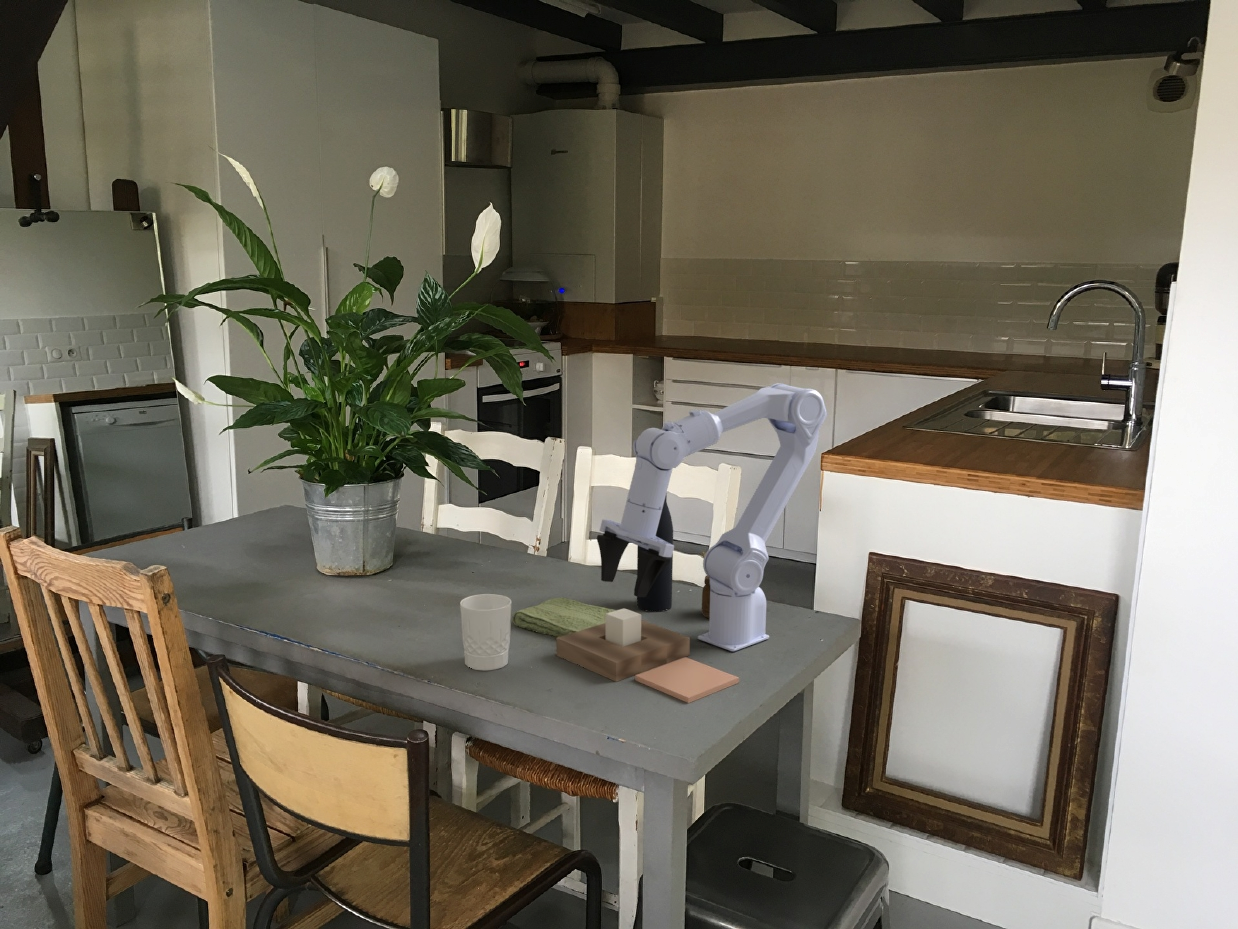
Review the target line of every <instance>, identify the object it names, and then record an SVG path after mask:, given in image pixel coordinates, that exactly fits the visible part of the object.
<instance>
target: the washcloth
mask: <svg viewBox="0 0 1238 929" xmlns="http://www.w3.org/2000/svg"><path fill="white" fill-rule="evenodd" d="M613 611H616V610H615V609H612V608H607V607H604V606H603V607H601V606H597V605H593V604H587V603H583V602H581V601H578V600H577V599H571V598H566V597H561V596H560V597H554V598H549V599H547V600H545V601H542V602H541V603H539V604H537V605H534V606H529V607H526V608H522V609H519V610H517V611H516V612H514V614H513V615H512V617H511V621H512V622H513V624H514V626H516V627H518V626H519V628H522V629H525V628H526V629H525V630H528V631H531V630H533V631H532V632H534V631H537V632H536V633H539V634H542V633H545V634H544V635H546V634H549V635H548V636H551V635H553V637H555V638H558V637H561V636H564V635H568V634H571V633H574V632H577V631H581V630H584V629H587V628H590V627H594V626H597V625H600V624H604V623H606V614H607V613H610V612H613Z"/></svg>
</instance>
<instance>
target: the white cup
mask: <svg viewBox="0 0 1238 929" xmlns="http://www.w3.org/2000/svg"><path fill="white" fill-rule="evenodd" d="M459 606H460V607H459V609H460V621H461V622H460V623H461V635H462V646H463V649H464V651H463V654H464V665H465V666H467V668H469V667H470V668H469V669H471V668H472V670H474V671H475V670H476V671H495V670H499V669H501V668H504V667H505V666H506V665H508V663H509V648H510V646H511V645H510V644H511V642H510V640H511V627H512V626H511V624H512V623H511V622H512V599H511V598H510V597H508V596H506V595H502V594H493V593H483V594H481V593H480V594H474V595H470V596H466V597H464V598H463V599H461V601H460V602H459Z"/></svg>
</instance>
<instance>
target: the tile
mask: <svg viewBox="0 0 1238 929" xmlns="http://www.w3.org/2000/svg"><path fill="white" fill-rule="evenodd" d="M634 680H635V682H638V683H641V684H643V685H645V686H648V687H650V688H652V689H655V690H658V691H659V692H661V693H664V694H666V695H669V696H671V697H674V698H676V699H678V700H679V701H683V702H685V703H687V704H690V703H692V702H695V701H697V700H700V699H702V698H705V697H706V696H710V695H712V694H714V693H717V692H720V691H722V690H724V689H727V688H729V687H732V686H734V685H736V684H737V685H738V684H739V683H740V677H738V676H736V675H734V674H731V673H727V672H725V671H723V670H720V669H717V668H715V667H713V666H709V665H707V664H705V663H703V662H699V661H696V660H695V659H691V658H689V657H688V656H686V657H683V658H681V659H678V660H675V661H672V662H670V663H667V664H664V665H661V666H659V667H656V668H653V669H650V670H647V671H645V672H642V673H639V674H636V675H634Z"/></svg>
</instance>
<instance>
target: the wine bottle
mask: <svg viewBox="0 0 1238 929" xmlns="http://www.w3.org/2000/svg"><path fill="white" fill-rule="evenodd" d="M667 494H668V491H667V492H666V496H665V500H664V504H663V508H662V512H661V516H660V520H659V524H658V528H657V532H656V536H657V537H659V538H660V539H662V540H664V541H666V542H668V543H670V544H672V545H674V525H673V521H672V515H671V512H670V508H669V506H668V503H667V498H668V497H667ZM637 541H638V540H637ZM638 542H641V541H638ZM636 550H637V551H636V552H637V555H636V556H637V557H636V558H637V560H636V561H637V563H636V564H637V568H636V573H637V574H638V551H647V552H648V549H645V548H643V547H640V546H638V545H637V549H636ZM673 555H674V553H673V554H672V557H670V558H671V561H670V563H669V564H668V565H667V566H666V567H665V568H664V569H663V570H662V571H661V572H660V574H659V575H658V576H657V578H656V579H655V581H654V582H653V584H652V586H651V588H650V590H649V592H648V593H647V595H646V597H637V596H636V606H638V607H637V608H638V609H640V610H642V609H643V610H642V611H645V610H647V612H654V611H656V612H663V610H665V611H667V610H666V609H668V610H670V609H671V608H672V605H673V562H674V561H673V560H674V559H673V558H674V556H673ZM637 574H636V575H637Z"/></svg>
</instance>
